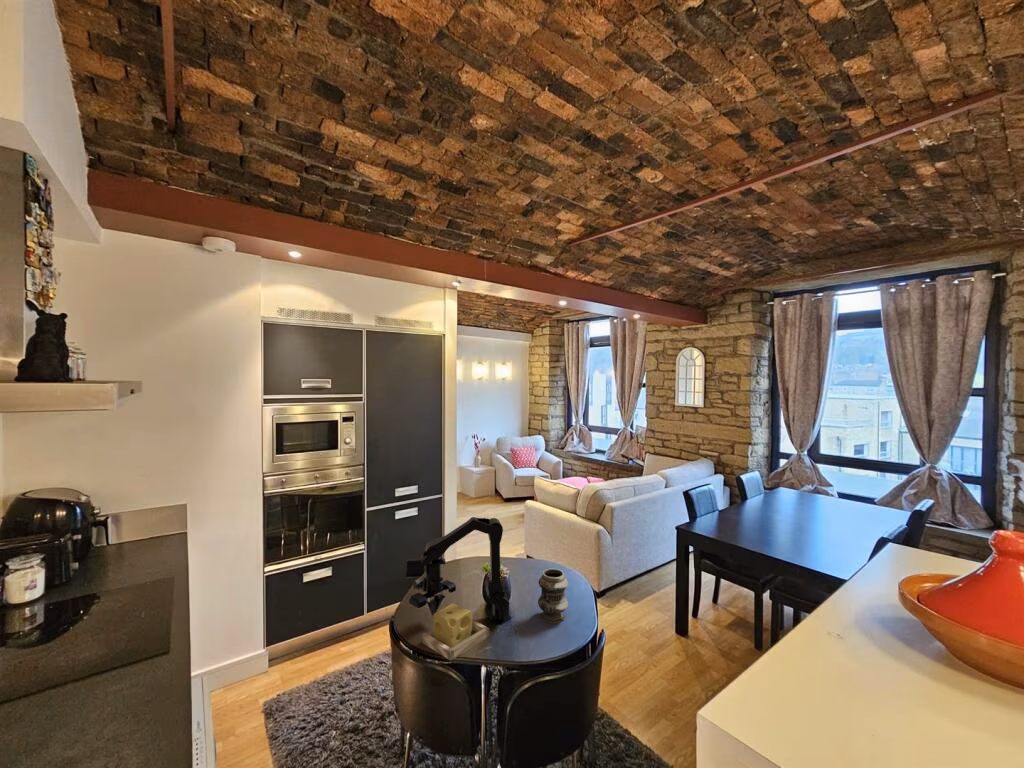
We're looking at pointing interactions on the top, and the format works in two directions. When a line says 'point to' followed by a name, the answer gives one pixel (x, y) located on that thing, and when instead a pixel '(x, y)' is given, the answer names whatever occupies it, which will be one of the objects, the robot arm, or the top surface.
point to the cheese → (452, 625)
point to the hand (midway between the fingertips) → (433, 615)
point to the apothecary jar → (553, 595)
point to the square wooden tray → (462, 646)
